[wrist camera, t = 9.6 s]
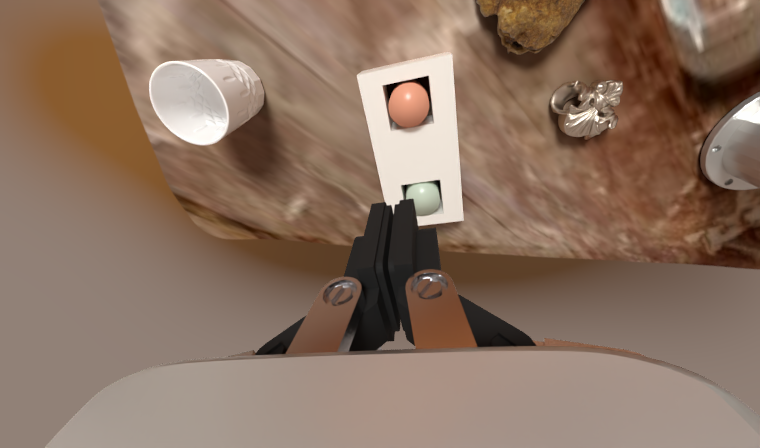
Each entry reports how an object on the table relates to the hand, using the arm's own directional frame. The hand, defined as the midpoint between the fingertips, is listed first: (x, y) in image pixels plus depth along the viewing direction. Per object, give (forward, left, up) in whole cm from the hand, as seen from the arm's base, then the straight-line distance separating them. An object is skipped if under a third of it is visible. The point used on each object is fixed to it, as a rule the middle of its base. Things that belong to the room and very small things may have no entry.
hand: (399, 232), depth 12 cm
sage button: (0, +12, -29) cm, 31 cm away
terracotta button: (0, 0, -28) cm, 28 cm away
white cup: (+21, -5, -29) cm, 36 cm away
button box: (0, +6, -29) cm, 30 cm away
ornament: (-20, +4, -30) cm, 36 cm away
